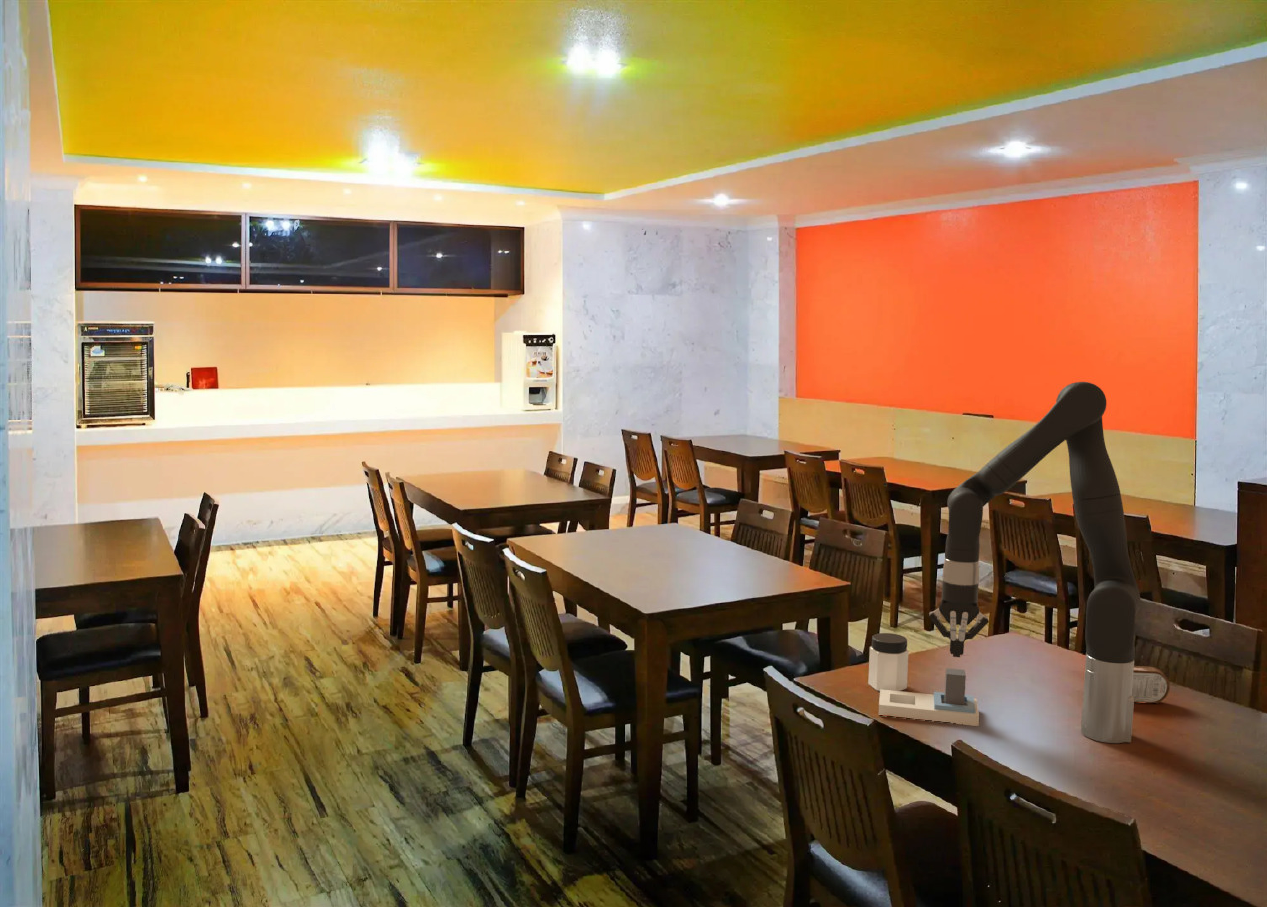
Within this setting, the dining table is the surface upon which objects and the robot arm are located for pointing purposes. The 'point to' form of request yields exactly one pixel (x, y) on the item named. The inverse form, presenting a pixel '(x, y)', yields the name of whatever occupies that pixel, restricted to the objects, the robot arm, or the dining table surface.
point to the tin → (1149, 685)
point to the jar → (888, 662)
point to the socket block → (928, 707)
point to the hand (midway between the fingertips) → (956, 655)
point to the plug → (954, 686)
